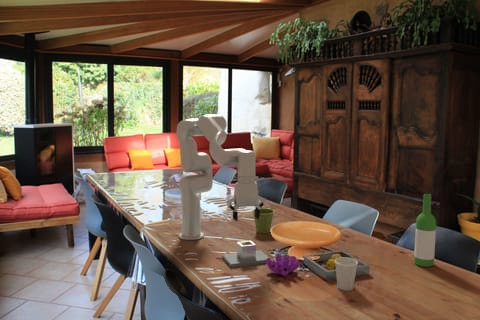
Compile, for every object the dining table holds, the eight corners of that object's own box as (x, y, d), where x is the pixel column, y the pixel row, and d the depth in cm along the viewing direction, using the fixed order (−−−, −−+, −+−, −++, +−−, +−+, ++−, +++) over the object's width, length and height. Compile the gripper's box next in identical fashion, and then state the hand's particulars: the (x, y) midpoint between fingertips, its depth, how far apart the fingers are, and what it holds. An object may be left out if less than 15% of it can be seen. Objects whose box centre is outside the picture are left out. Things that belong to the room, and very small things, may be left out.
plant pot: (250, 234, 223) (250, 213, 222) (254, 227, 235) (254, 207, 233) (272, 235, 220) (272, 214, 219) (276, 229, 232) (276, 208, 230)
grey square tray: (302, 263, 182) (302, 255, 181) (342, 258, 188) (342, 250, 188) (326, 280, 164) (326, 272, 163) (369, 274, 170) (369, 265, 169)
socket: (236, 255, 187) (236, 241, 186) (250, 253, 189) (250, 240, 189) (241, 260, 181) (241, 246, 180) (255, 258, 183) (255, 244, 182)
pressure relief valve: (322, 269, 174) (333, 262, 182) (349, 281, 167) (359, 273, 175) (324, 256, 173) (335, 250, 181) (352, 268, 166) (362, 261, 174)
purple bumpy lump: (267, 285, 168) (256, 262, 171) (292, 274, 178) (282, 253, 181) (284, 274, 160) (273, 251, 164) (309, 264, 171) (298, 242, 174)
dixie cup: (329, 287, 158) (330, 260, 157) (341, 280, 164) (342, 255, 162) (349, 294, 152) (350, 267, 151) (361, 287, 158) (362, 261, 157)
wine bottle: (434, 263, 182) (438, 193, 178) (432, 269, 175) (436, 197, 172) (415, 259, 186) (418, 191, 182) (412, 265, 179) (416, 195, 175)
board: (222, 258, 188) (222, 244, 187) (260, 253, 194) (260, 240, 193) (230, 267, 177) (230, 253, 176) (271, 262, 183) (271, 248, 182)
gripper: (262, 177, 187) (261, 215, 190) (224, 179, 182) (224, 218, 184) (268, 180, 180) (268, 219, 183) (229, 182, 175) (229, 223, 177)
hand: (246, 219), depth 183 cm, fingers open, 9 cm apart
